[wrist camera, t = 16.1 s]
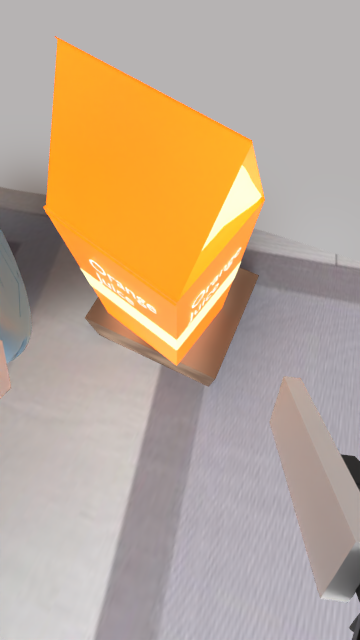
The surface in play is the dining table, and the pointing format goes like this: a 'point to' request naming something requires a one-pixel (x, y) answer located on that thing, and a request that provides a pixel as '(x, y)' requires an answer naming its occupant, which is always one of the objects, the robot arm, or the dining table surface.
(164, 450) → the dining table surface
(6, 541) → the dining table surface
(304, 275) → the dining table surface
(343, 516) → the robot arm
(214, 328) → the base brick
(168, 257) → the orange juice
